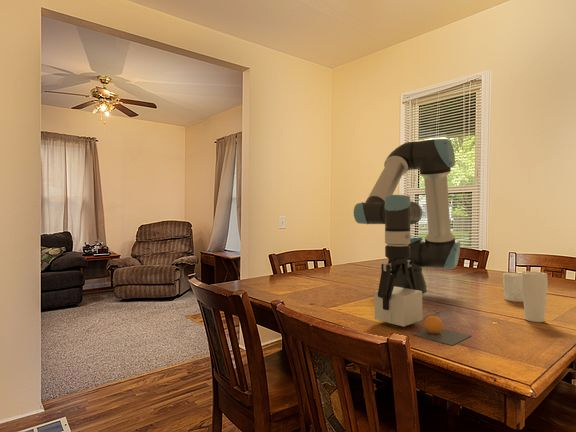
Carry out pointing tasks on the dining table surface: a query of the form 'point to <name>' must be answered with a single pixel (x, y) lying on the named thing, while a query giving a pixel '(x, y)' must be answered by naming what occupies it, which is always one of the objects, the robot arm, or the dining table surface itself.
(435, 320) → the ball
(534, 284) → the drinking glass
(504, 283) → the white cup
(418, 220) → the robot arm
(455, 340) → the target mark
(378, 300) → the pale grey cube
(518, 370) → the dining table surface
